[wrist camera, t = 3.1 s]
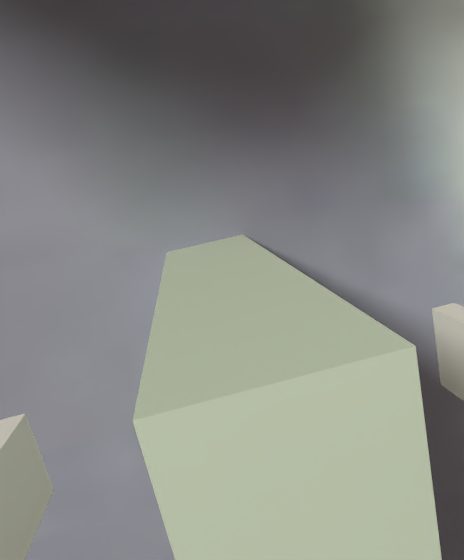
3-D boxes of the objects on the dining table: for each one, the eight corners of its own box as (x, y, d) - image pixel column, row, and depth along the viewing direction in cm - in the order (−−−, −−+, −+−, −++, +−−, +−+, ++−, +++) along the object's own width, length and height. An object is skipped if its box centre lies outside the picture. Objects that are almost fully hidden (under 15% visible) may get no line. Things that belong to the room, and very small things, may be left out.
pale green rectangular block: (166, 252, 16) (133, 420, 4) (262, 229, 16) (486, 327, 4) (218, 454, 18) (294, 949, 6) (303, 430, 18) (527, 860, 6)
